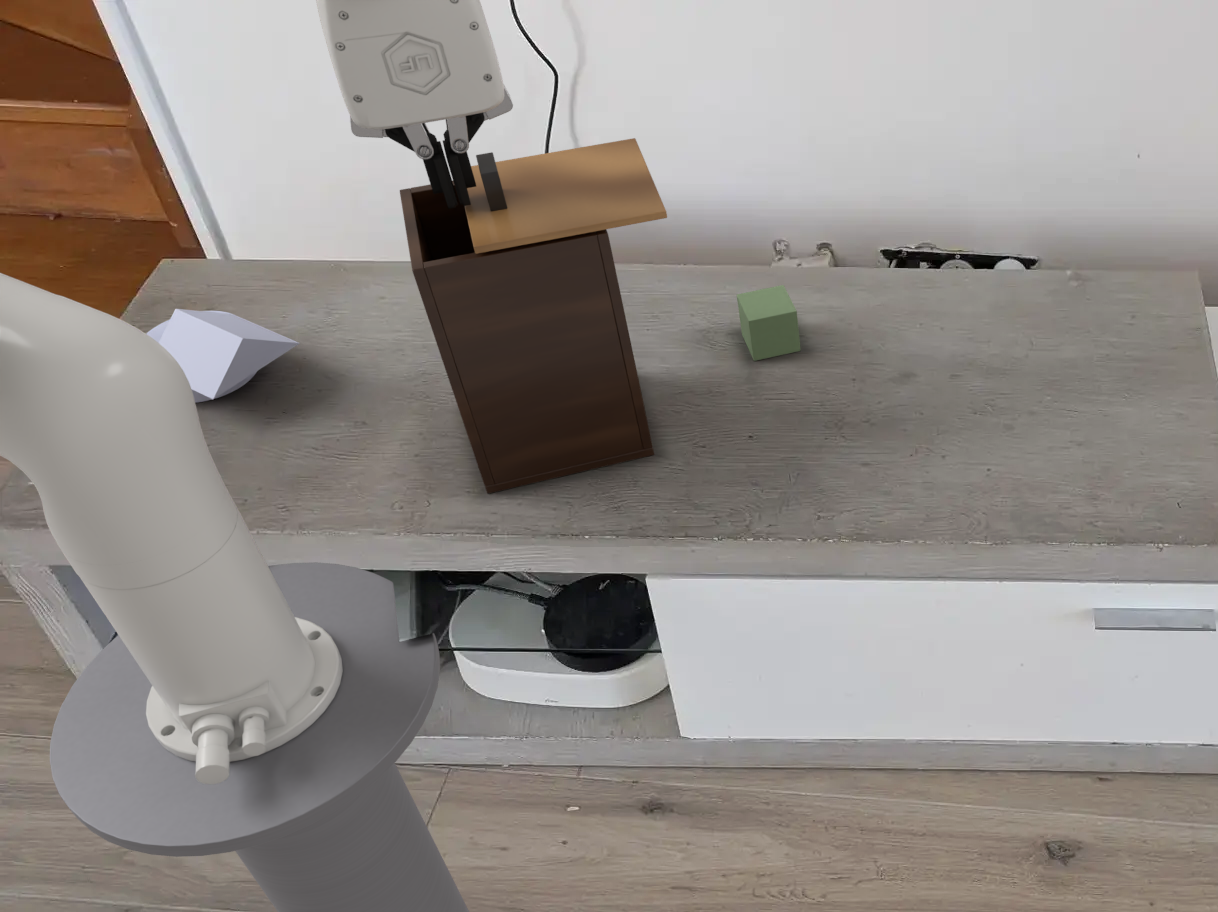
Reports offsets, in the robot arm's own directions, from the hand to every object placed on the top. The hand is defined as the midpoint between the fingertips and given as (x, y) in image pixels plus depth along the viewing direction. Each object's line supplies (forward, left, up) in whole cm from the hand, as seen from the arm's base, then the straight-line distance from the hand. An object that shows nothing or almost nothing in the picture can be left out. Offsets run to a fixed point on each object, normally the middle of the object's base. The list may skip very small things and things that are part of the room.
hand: (457, 197), depth 96 cm
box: (0, -3, -23) cm, 23 cm away
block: (+6, -23, -23) cm, 33 cm away
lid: (0, -7, -1) cm, 7 cm away
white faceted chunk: (+18, +24, -23) cm, 38 cm away
